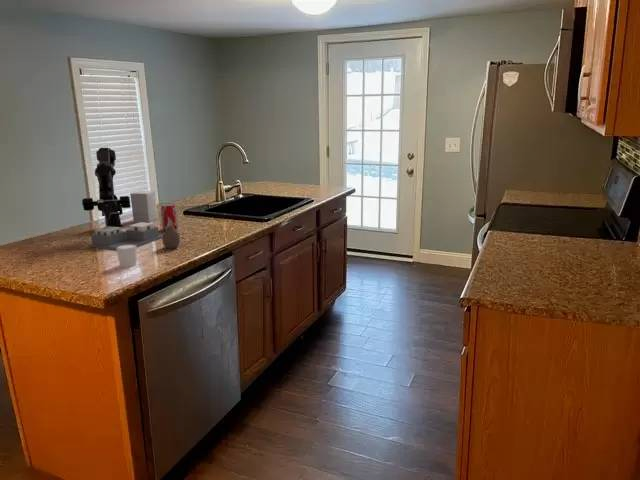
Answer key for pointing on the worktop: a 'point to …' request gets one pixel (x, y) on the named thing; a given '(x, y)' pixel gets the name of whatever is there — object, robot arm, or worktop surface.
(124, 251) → the shot glass
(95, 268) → the worktop surface
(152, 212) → the supplement box
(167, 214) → the soda can
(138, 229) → the cream block with holes
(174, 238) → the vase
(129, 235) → the board
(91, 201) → the robot arm
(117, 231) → the grey-green block
